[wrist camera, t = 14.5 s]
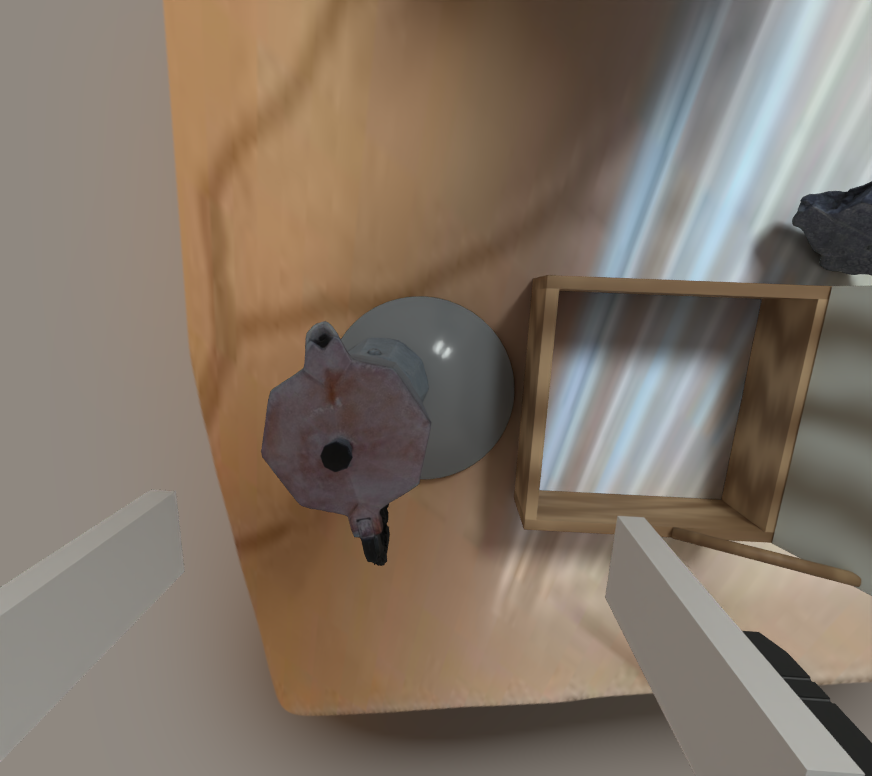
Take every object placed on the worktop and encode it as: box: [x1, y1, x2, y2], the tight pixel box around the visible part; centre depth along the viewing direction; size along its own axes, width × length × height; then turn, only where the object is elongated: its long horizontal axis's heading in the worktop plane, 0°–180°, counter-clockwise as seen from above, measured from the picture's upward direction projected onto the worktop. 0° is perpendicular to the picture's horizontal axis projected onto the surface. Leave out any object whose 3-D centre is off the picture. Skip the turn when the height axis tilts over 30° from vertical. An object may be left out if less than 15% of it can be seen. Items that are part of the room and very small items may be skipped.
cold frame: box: [514, 275, 872, 596], centre depth 27 cm, size 22×30×27 cm
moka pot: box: [261, 321, 432, 566], centre depth 30 cm, size 10×15×20 cm, turn 15°
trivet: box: [341, 297, 514, 479], centre depth 40 cm, size 18×18×1 cm
